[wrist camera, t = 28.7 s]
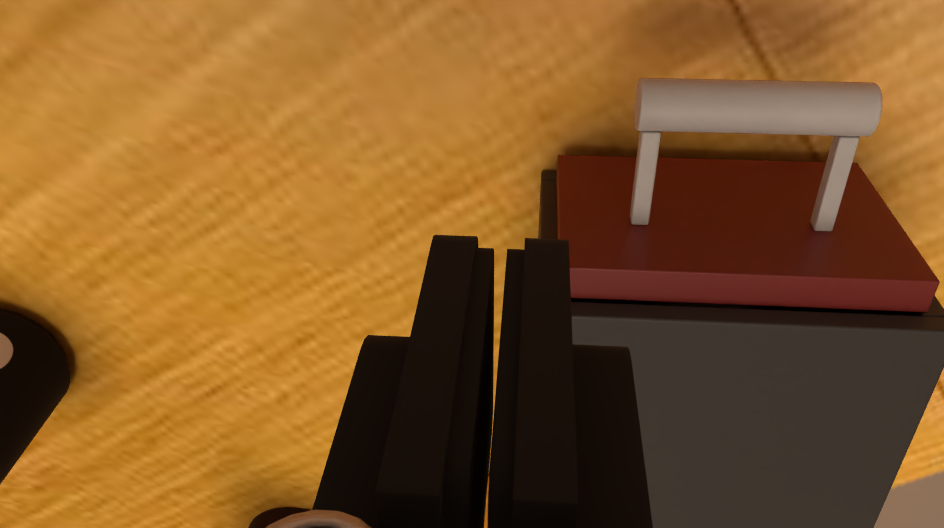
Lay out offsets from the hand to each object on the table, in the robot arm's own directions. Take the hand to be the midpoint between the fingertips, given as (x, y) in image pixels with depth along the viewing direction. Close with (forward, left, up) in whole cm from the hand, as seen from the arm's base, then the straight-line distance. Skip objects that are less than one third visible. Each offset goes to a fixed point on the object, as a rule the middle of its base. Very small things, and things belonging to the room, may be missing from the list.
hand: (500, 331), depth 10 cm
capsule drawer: (+12, +7, -20) cm, 24 cm away
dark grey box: (+16, +7, -21) cm, 27 cm away
